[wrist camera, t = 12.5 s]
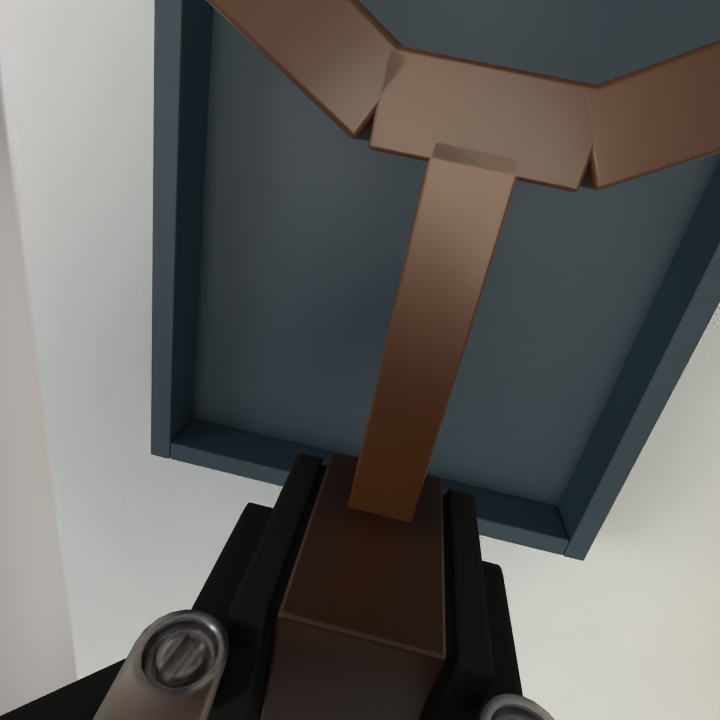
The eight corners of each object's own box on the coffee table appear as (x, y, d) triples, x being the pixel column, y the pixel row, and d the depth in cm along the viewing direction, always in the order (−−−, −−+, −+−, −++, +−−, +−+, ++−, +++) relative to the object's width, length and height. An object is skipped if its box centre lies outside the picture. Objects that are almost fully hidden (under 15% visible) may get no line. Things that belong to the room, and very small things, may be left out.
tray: (179, 424, 22) (150, 454, 19) (218, -663, 10) (160, -886, 8) (567, 518, 21) (583, 561, 19) (1083, -549, 9) (1284, -765, 7)
